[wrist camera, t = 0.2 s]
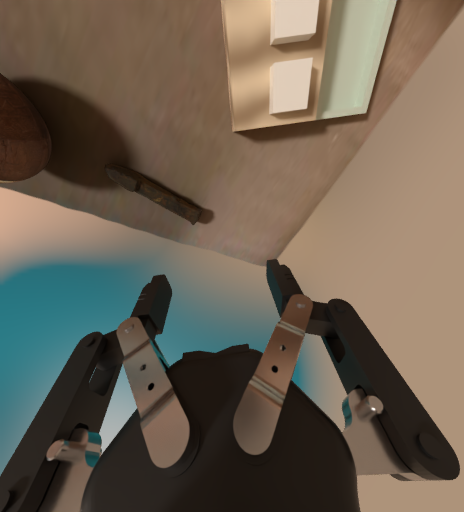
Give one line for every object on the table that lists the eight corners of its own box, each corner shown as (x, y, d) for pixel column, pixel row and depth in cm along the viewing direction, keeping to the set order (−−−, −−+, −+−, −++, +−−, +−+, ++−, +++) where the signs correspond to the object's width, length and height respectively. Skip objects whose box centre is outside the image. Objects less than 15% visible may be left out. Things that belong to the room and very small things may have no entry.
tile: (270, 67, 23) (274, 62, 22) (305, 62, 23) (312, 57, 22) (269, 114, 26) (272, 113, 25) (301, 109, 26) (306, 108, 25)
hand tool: (203, 207, 39) (202, 215, 36) (194, 220, 41) (192, 229, 37) (116, 150, 32) (102, 152, 28) (109, 169, 34) (96, 173, 30)
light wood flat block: (216, -51, 21) (216, -96, 17) (322, -66, 21) (348, -114, 17) (232, 131, 31) (235, 131, 27) (302, 121, 31) (315, 120, 27)
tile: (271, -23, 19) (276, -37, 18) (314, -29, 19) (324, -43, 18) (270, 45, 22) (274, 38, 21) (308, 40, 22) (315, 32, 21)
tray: (330, -67, 21) (342, -88, 19) (403, -77, 21) (423, -99, 19) (307, 121, 31) (314, 120, 29) (356, 114, 31) (366, 113, 29)
